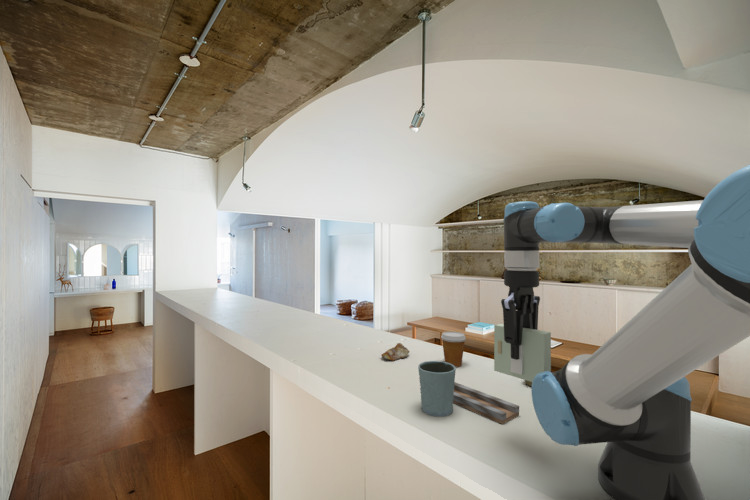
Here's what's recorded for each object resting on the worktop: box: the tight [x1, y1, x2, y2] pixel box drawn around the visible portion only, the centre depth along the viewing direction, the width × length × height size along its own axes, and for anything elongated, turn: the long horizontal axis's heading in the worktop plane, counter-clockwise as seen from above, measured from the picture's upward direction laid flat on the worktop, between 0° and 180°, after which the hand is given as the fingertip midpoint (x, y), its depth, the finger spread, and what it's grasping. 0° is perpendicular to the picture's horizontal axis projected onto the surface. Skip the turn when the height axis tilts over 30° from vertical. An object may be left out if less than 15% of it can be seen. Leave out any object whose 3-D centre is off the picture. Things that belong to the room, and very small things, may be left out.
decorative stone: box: [381, 342, 410, 362], centre depth 144 cm, size 10×4×15 cm
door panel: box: [493, 323, 552, 382], centre depth 79 cm, size 12×3×11 cm, turn 39°
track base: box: [453, 381, 520, 425], centre depth 99 cm, size 24×8×2 cm, turn 39°
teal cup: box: [418, 360, 457, 417], centre depth 95 cm, size 10×10×12 cm
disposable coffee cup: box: [440, 331, 467, 368], centre depth 134 cm, size 10×10×12 cm
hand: (521, 370), depth 79 cm, fingers closed on door panel, 3 cm apart
